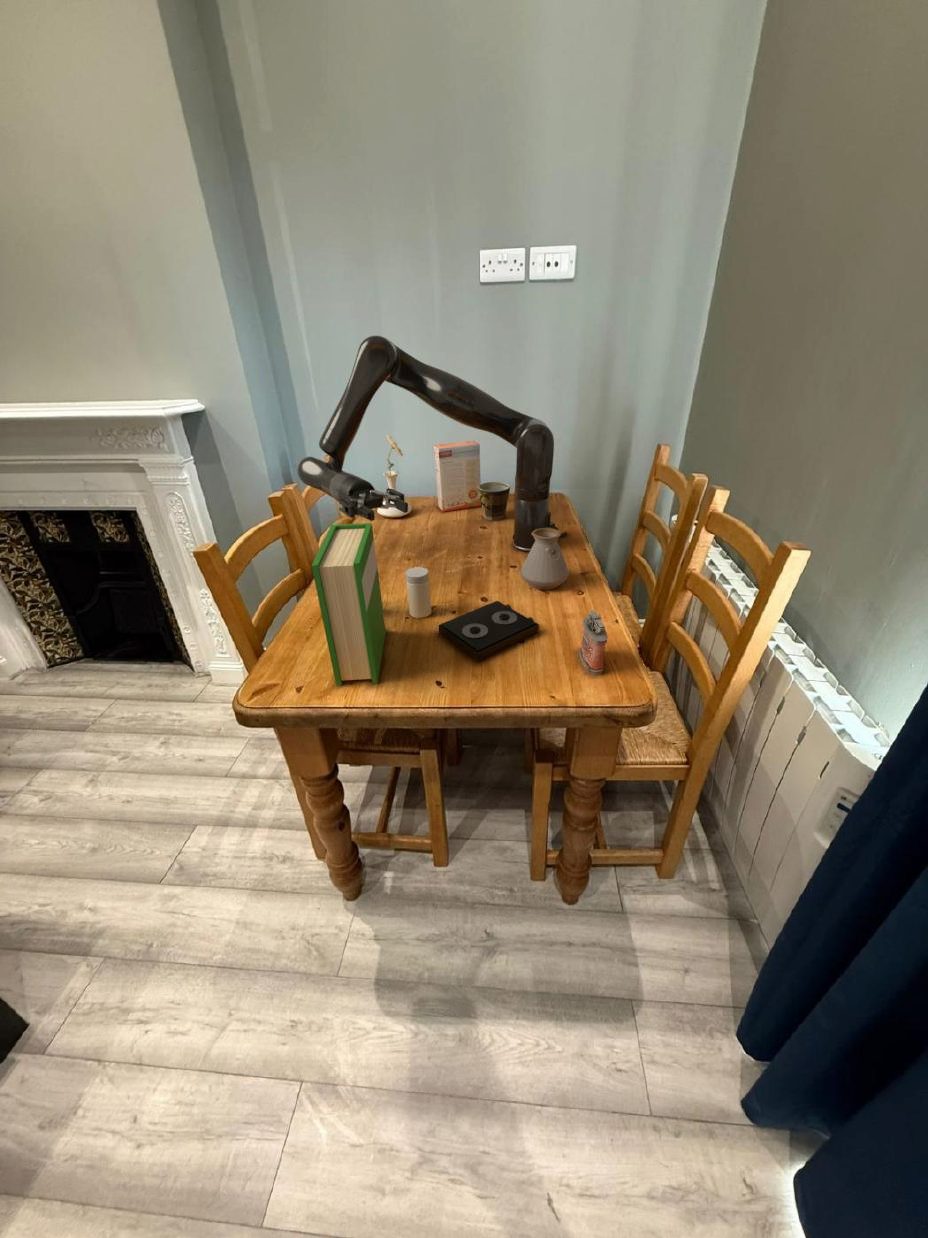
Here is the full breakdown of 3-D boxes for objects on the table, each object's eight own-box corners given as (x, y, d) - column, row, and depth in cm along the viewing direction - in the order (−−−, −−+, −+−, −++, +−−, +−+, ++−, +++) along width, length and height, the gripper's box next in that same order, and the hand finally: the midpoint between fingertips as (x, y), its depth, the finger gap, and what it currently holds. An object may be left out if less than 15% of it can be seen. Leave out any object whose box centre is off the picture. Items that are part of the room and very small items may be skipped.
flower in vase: (410, 520, 163) (403, 439, 150) (375, 520, 163) (365, 440, 150) (414, 506, 174) (407, 430, 161) (381, 507, 174) (372, 431, 161)
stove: (500, 607, 113) (500, 596, 112) (541, 631, 104) (542, 619, 103) (438, 634, 105) (437, 622, 103) (477, 662, 96) (477, 650, 94)
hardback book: (377, 683, 91) (359, 563, 79) (336, 685, 91) (311, 565, 78) (385, 631, 106) (371, 522, 94) (350, 632, 106) (331, 524, 94)
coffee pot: (519, 571, 128) (520, 515, 120) (564, 571, 127) (569, 514, 120) (523, 615, 110) (525, 552, 102) (576, 615, 109) (583, 551, 101)
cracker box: (475, 501, 177) (474, 439, 166) (481, 506, 172) (480, 443, 161) (437, 506, 173) (433, 443, 162) (442, 512, 168) (438, 447, 157)
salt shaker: (423, 604, 116) (420, 564, 110) (436, 612, 112) (433, 572, 107) (405, 611, 113) (400, 571, 108) (417, 620, 110) (413, 579, 104)
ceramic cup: (489, 509, 169) (489, 480, 164) (515, 515, 164) (516, 484, 158) (467, 521, 160) (466, 490, 155) (493, 527, 155) (493, 495, 150)
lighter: (576, 650, 98) (580, 606, 93) (593, 649, 98) (598, 604, 93) (588, 675, 91) (594, 629, 86) (606, 674, 91) (613, 627, 86)
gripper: (322, 480, 113) (360, 501, 102) (376, 470, 121) (416, 489, 111) (325, 512, 117) (362, 535, 107) (378, 501, 125) (417, 521, 115)
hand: (390, 512), depth 109 cm, fingers open, 8 cm apart
